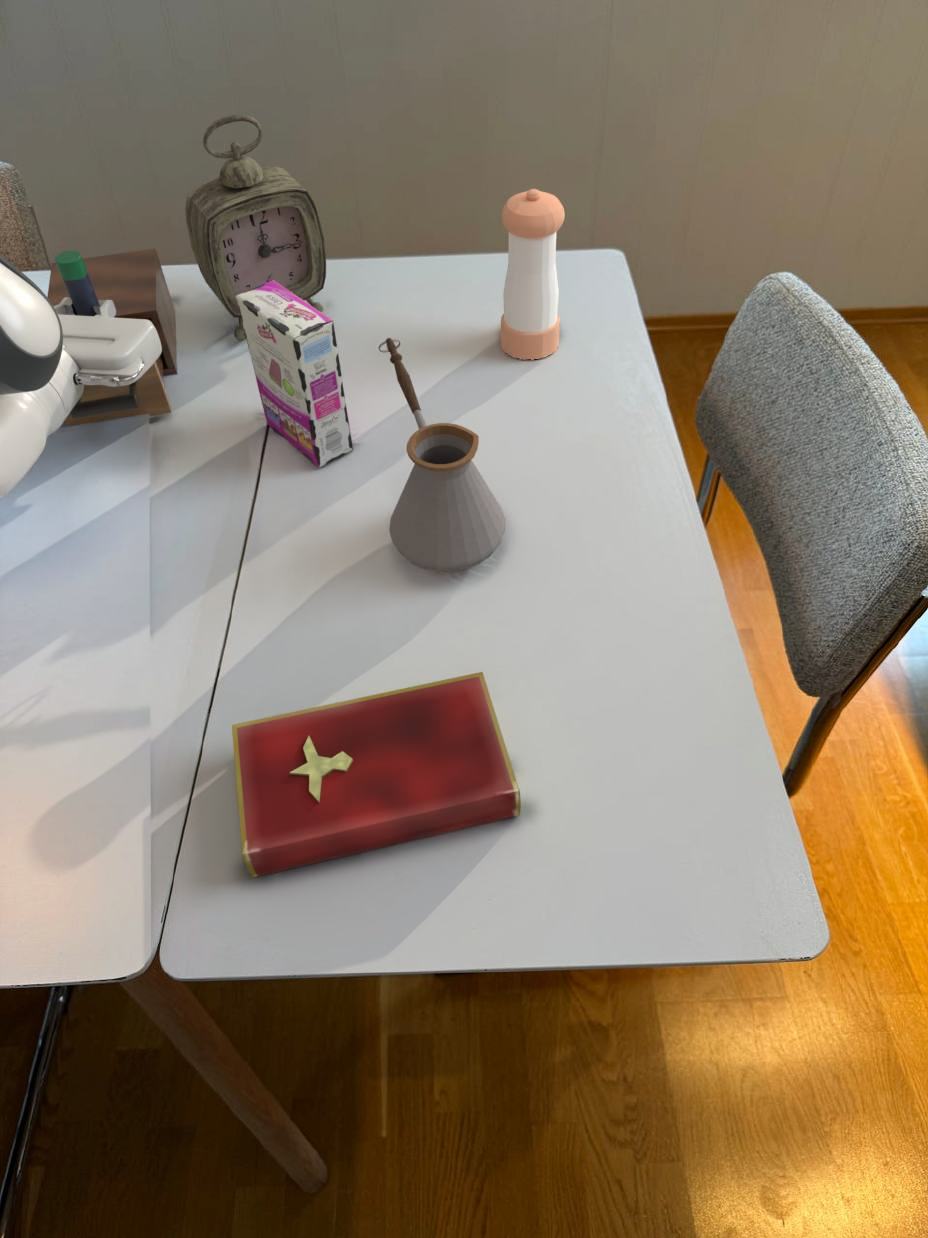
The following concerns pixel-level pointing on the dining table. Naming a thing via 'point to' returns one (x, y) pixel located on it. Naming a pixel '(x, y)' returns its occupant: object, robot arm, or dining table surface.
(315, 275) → the tabletop clock
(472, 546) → the coffee pot
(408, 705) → the hardcover book
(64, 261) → the marker
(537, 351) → the pepper shaker
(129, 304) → the cabinet
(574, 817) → the dining table surface
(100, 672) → the dining table surface
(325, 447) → the candy bar box
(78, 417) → the drawer
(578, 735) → the dining table surface
